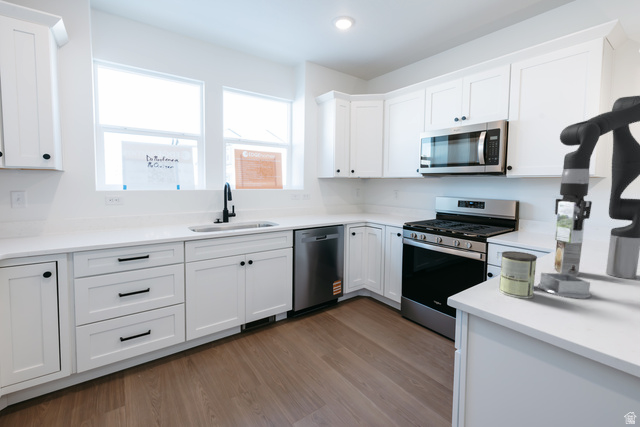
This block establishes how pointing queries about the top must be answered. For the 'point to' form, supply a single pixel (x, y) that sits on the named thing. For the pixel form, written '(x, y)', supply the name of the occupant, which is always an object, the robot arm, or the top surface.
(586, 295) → the collar
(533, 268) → the coffee can
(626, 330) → the top surface
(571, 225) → the syrup box
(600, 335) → the top surface
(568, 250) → the coffee box
